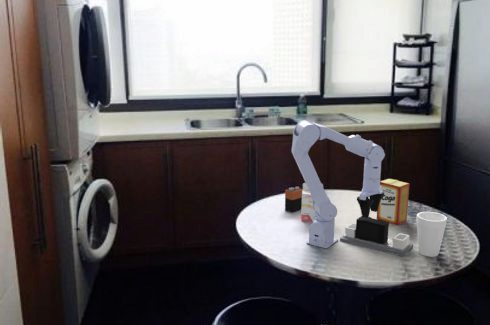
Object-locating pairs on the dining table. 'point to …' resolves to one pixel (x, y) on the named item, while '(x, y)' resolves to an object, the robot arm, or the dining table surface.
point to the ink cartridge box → (307, 205)
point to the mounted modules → (398, 241)
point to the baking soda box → (393, 202)
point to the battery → (293, 199)
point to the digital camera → (372, 229)
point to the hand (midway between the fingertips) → (369, 214)
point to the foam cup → (430, 232)
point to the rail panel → (377, 245)
